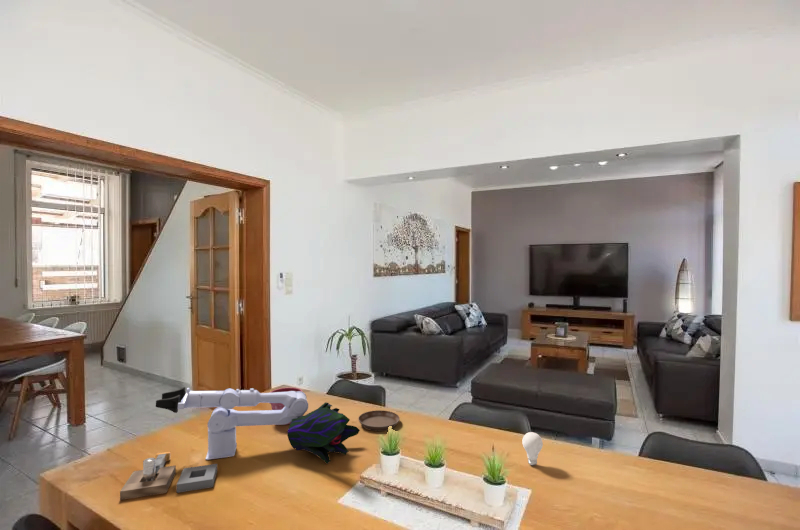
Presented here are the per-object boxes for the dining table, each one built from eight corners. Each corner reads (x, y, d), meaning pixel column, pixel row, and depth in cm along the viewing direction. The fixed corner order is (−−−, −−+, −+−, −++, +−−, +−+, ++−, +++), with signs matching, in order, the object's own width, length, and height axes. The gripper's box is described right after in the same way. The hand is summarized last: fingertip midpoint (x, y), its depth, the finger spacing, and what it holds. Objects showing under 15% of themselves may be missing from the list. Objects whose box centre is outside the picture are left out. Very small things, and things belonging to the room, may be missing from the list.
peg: (156, 482, 127) (156, 457, 127) (153, 487, 124) (153, 461, 124) (145, 483, 126) (145, 458, 126) (142, 489, 123) (141, 463, 123)
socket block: (175, 472, 132) (175, 465, 132) (166, 492, 121) (166, 484, 121) (133, 478, 129) (133, 471, 129) (120, 500, 117) (120, 491, 117)
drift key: (170, 458, 141) (170, 451, 141) (163, 472, 132) (163, 465, 132) (156, 460, 140) (156, 453, 140) (147, 475, 130) (147, 467, 130)
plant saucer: (407, 422, 174) (407, 415, 174) (384, 437, 160) (384, 429, 159) (374, 414, 184) (374, 407, 184) (349, 427, 169) (349, 420, 169)
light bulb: (542, 462, 138) (542, 430, 138) (542, 471, 132) (542, 438, 132) (522, 459, 140) (522, 427, 140) (521, 468, 134) (521, 435, 134)
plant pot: (288, 412, 186) (288, 384, 185) (309, 419, 177) (309, 390, 177) (262, 422, 174) (261, 393, 174) (282, 430, 166) (282, 399, 166)
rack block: (217, 471, 133) (217, 463, 133) (212, 487, 124) (212, 479, 124) (183, 476, 130) (183, 468, 130) (176, 492, 121) (176, 484, 121)
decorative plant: (315, 467, 154) (385, 457, 145) (270, 470, 132) (350, 458, 123) (314, 410, 163) (380, 398, 154) (272, 404, 142) (346, 389, 133)
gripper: (206, 382, 151) (165, 382, 147) (199, 394, 137) (154, 395, 133) (204, 401, 151) (163, 401, 147) (197, 414, 137) (152, 416, 133)
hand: (159, 399), depth 140 cm, fingers open, 7 cm apart
